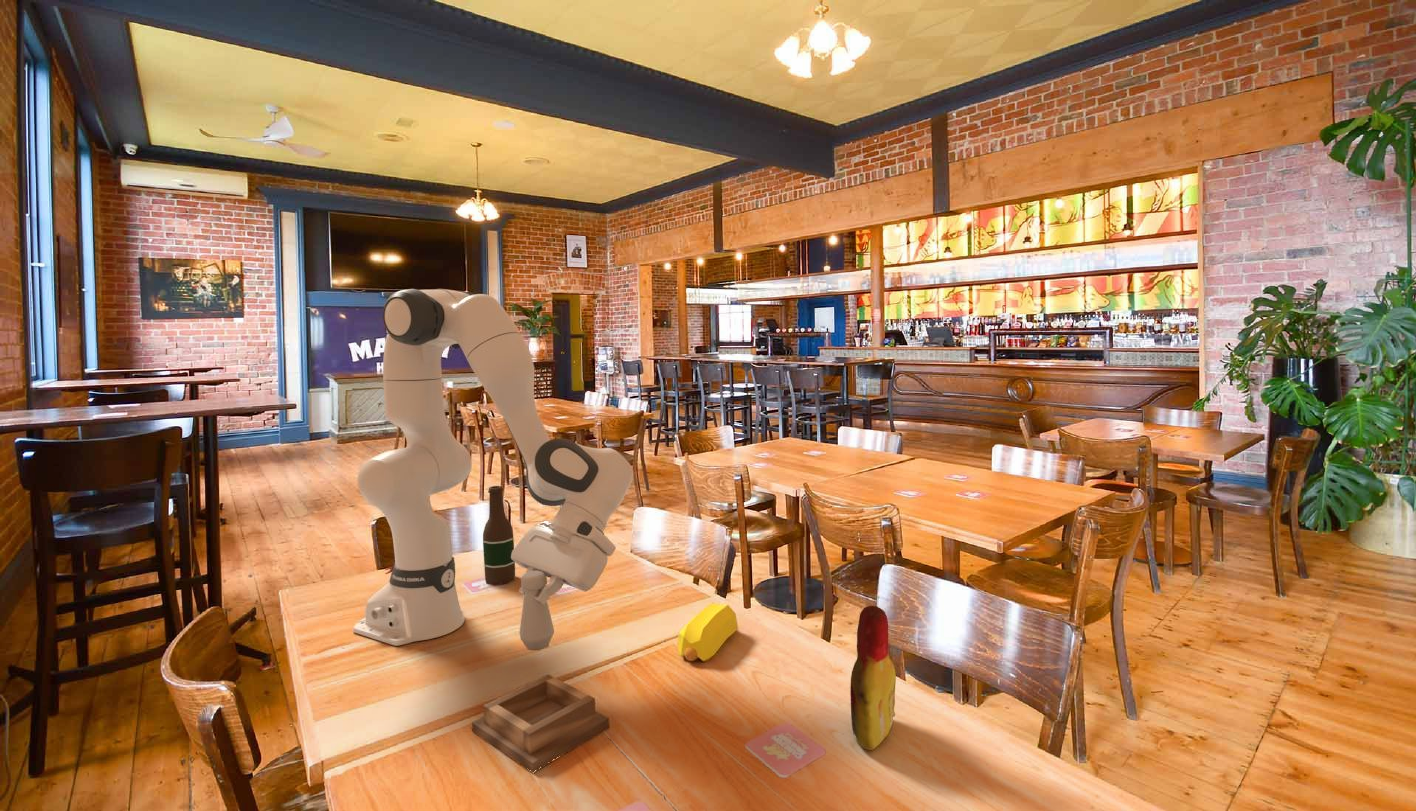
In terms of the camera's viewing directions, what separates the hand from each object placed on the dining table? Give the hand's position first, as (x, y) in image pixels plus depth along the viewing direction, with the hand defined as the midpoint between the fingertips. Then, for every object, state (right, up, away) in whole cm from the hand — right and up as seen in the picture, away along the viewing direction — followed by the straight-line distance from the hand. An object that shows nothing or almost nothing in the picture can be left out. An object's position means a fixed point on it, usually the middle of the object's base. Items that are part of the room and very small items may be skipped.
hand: (531, 598), depth 114 cm
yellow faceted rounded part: (+30, -14, +17) cm, 38 cm away
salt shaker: (+1, -9, +2) cm, 9 cm away
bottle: (+55, -17, -14) cm, 59 cm away
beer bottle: (-22, -11, +55) cm, 60 cm away
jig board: (+4, -17, -11) cm, 21 cm away
